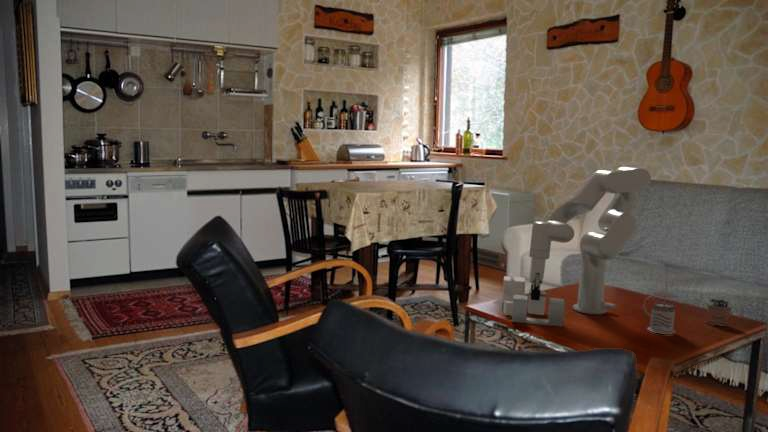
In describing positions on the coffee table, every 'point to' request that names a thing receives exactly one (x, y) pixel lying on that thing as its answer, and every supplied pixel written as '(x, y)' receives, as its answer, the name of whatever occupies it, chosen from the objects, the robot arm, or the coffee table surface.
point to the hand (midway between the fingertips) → (534, 297)
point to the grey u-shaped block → (520, 316)
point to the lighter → (718, 312)
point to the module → (537, 304)
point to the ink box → (512, 287)
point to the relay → (508, 307)
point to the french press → (660, 325)
